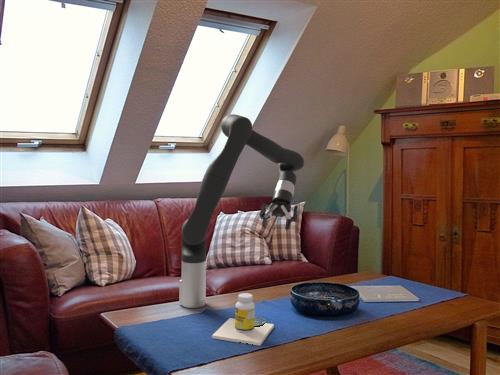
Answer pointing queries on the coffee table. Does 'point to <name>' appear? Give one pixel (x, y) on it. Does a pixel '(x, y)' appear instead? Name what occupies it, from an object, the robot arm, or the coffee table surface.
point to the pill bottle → (244, 313)
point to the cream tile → (242, 333)
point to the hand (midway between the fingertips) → (275, 228)
